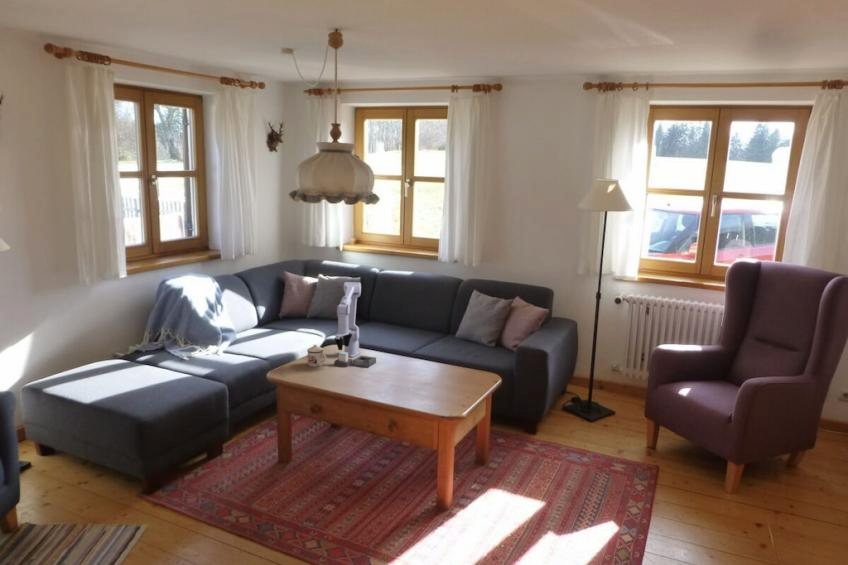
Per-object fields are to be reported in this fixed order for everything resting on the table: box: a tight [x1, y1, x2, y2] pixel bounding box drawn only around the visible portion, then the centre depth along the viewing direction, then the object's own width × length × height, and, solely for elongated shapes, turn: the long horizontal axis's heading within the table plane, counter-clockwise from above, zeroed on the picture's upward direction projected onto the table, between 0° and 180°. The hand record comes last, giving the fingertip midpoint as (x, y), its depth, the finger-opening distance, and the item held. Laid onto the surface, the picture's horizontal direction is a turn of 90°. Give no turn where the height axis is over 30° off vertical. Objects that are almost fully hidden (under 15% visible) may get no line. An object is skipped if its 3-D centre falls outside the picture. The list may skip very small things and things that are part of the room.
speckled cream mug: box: [307, 344, 327, 368], centre depth 351 cm, size 12×9×12 cm
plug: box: [338, 351, 349, 362], centre depth 354 cm, size 3×4×7 cm, turn 69°
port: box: [352, 355, 377, 369], centre depth 356 cm, size 10×10×3 cm
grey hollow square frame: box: [333, 358, 354, 368], centre depth 354 cm, size 7×8×2 cm
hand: (343, 348), depth 353 cm, fingers open, 7 cm apart
